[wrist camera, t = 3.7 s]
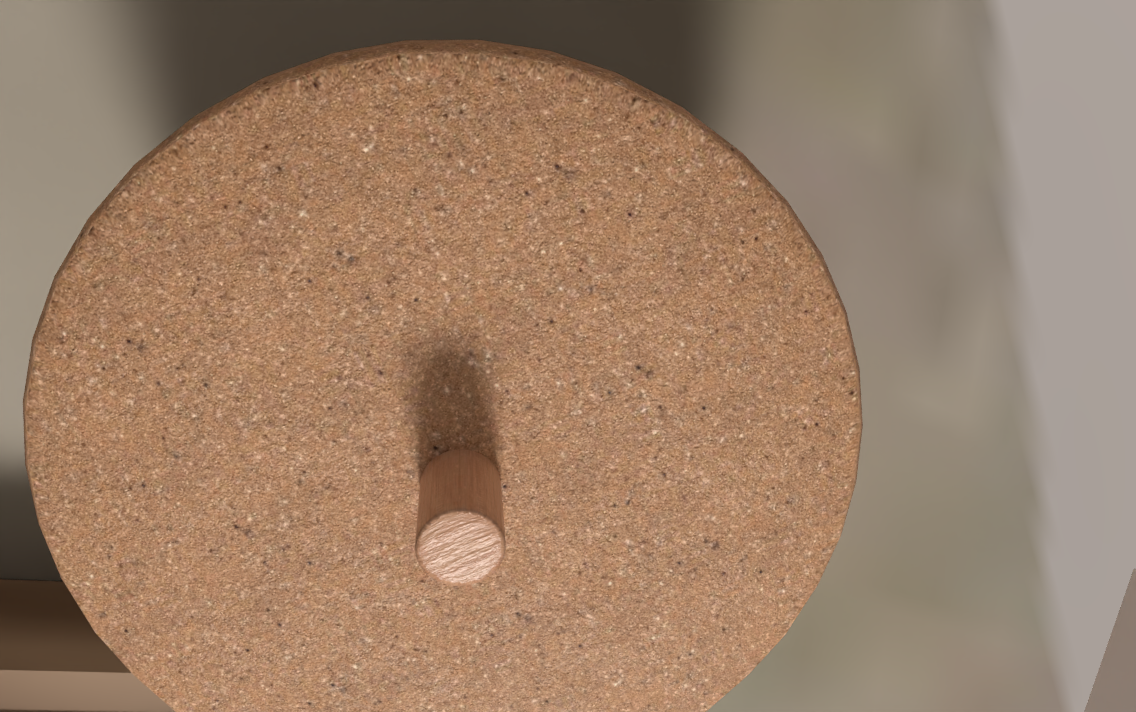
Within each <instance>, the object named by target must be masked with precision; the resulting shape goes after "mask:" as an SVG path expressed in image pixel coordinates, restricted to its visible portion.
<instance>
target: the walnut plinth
mask: <svg viewBox="0 0 1136 712" xmlns="http://www.w3.org/2000/svg"><path fill="white" fill-rule="evenodd" d="M0 712H175V711H174V710H173V709H172V708H171V707H170V706H168V705H167V704H166V703H165V702H164V701H163V700H161V699H160V698H159V697H158V696H157V695H156V694H155V693H153V692H152V691H151V690H150V689H149V688H148V687H147V686H145V685H144V684H143V683H142V682H141V681H140V680H139V679H137V678H136V677H135V676H134V675H133V674H132V673H131V672H130V671H129V669H128V668H127V667H126V666H125V665H124V664H123V663H122V662H121V661H120V659H119V658H118V657H117V656H116V655H115V654H114V653H113V652H112V651H111V649H110V648H109V647H108V646H107V645H106V644H105V643H104V642H103V641H102V639H101V638H100V637H99V636H98V635H97V634H96V633H95V632H94V630H93V628H92V627H91V625H90V623H89V622H88V620H87V619H86V617H85V615H84V614H83V612H82V611H81V609H80V607H79V606H78V604H77V603H76V601H75V599H74V598H73V596H72V595H71V593H70V591H69V590H68V588H67V587H66V585H65V583H64V582H63V581H34V580H5V579H0Z"/></svg>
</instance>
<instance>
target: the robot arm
mask: <svg viewBox="0 0 1136 712" xmlns="http://www.w3.org/2000/svg"><path fill="white" fill-rule="evenodd" d="M1084 712H1136V569H1134V570H1133V573H1132V576H1131V579H1130V582H1129V584H1128V588H1127V590H1126V593H1125V596H1124V599H1123V602H1122V605H1121V607H1120V610H1119V613H1118V616H1117V620H1116V622H1115V625H1114V628H1113V631H1112V634H1111V637H1110V639H1109V642H1108V645H1107V648H1106V651H1105V654H1104V657H1103V659H1102V662H1101V665H1100V668H1099V671H1098V674H1097V677H1096V679H1095V683H1094V685H1093V688H1092V691H1091V694H1090V697H1089V700H1088V703H1087V705H1086V708H1085V711H1084Z"/></svg>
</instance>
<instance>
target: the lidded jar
mask: <svg viewBox="0 0 1136 712" xmlns="http://www.w3.org/2000/svg"><path fill="white" fill-rule="evenodd" d="M23 415H24V444H25V465H26V469H27V474H28V478H29V483H30V488H31V492H32V497H33V501H34V506H35V510H36V515H37V520H38V523H39V526H40V528H41V531H42V533H43V535H44V538H45V540H46V543H47V545H48V548H49V550H50V552H51V555H52V557H53V560H54V562H55V564H56V567H57V569H58V572H59V574H60V577H61V579H62V580H63V582H64V583H65V585H66V587H67V588H68V590H69V591H70V593H71V595H72V596H73V598H74V599H75V601H76V603H77V604H78V606H79V607H80V609H81V611H82V612H83V614H84V615H85V617H86V619H87V620H88V622H89V623H90V625H91V627H92V628H93V630H94V632H95V633H96V634H97V635H98V636H99V637H100V638H101V639H102V641H103V642H104V643H105V644H106V645H107V646H108V647H109V648H110V649H111V651H112V652H113V653H114V654H115V655H116V656H117V657H118V658H119V659H120V661H121V662H122V663H123V664H124V665H125V666H126V667H127V668H128V669H129V671H130V672H131V673H132V674H133V675H134V676H135V677H136V678H137V679H139V680H140V681H141V682H142V683H143V684H144V685H145V686H147V687H148V688H149V689H150V690H151V691H152V692H153V693H155V694H156V695H157V696H158V697H159V698H160V699H161V700H163V701H164V702H165V703H166V704H167V705H168V706H170V707H171V708H172V709H173V710H174V711H175V712H706V711H707V710H708V709H709V708H711V707H712V706H713V705H714V704H715V703H716V702H718V701H719V700H720V699H721V698H722V697H723V696H724V695H726V694H727V693H728V692H729V691H730V690H731V689H732V688H734V687H735V686H736V685H737V684H738V683H739V682H741V681H742V680H743V679H744V678H745V677H746V676H747V675H748V674H749V673H750V672H751V671H752V670H753V669H754V668H755V667H756V666H757V665H758V664H759V663H760V661H761V660H762V659H763V658H764V657H765V656H766V655H767V654H768V653H769V652H770V651H771V650H772V648H773V647H774V646H775V645H776V644H777V643H778V642H779V641H780V640H781V639H782V638H783V637H784V635H785V634H786V633H787V631H788V630H789V628H790V626H791V625H792V623H793V622H794V620H795V619H796V617H797V616H798V614H799V613H800V611H801V609H802V608H803V606H804V605H805V603H806V602H807V600H808V599H809V597H810V596H811V594H812V593H813V591H814V590H815V588H816V587H817V585H818V583H819V581H820V579H821V577H822V575H823V573H824V570H825V568H826V566H827V564H828V562H829V560H830V558H831V555H832V553H833V551H834V549H835V547H836V545H837V543H838V540H839V538H840V536H841V533H842V530H843V526H844V523H845V519H846V516H847V512H848V509H849V505H850V502H851V498H852V495H853V491H854V488H855V484H856V478H857V470H858V461H859V452H860V444H861V435H862V426H863V425H862V407H861V389H860V371H859V365H858V360H857V356H856V352H855V347H854V343H853V339H852V334H851V330H850V326H849V321H848V317H847V313H846V310H845V307H844V305H843V303H842V300H841V298H840V296H839V293H838V291H837V288H836V286H835V284H834V281H833V279H832V277H831V274H830V272H829V270H828V267H827V265H826V263H825V260H824V258H823V256H822V254H821V252H820V251H819V249H818V248H817V246H816V245H815V243H814V241H813V240H812V238H811V237H810V235H809V234H808V232H807V231H806V229H805V228H804V226H803V225H802V223H801V221H800V220H799V218H798V217H797V215H796V214H795V212H794V211H793V209H792V208H791V206H790V205H789V203H788V202H787V200H786V199H785V198H784V197H783V196H782V195H781V194H780V193H779V192H778V191H777V190H776V189H775V188H774V186H773V185H772V184H771V183H770V182H769V181H768V180H767V179H766V178H765V177H764V176H763V175H762V174H761V173H760V171H759V170H758V169H757V168H756V167H755V166H754V165H753V164H752V163H751V162H750V161H749V160H748V159H747V158H746V156H745V155H744V154H743V153H742V152H740V151H739V150H738V149H737V148H735V147H734V146H733V145H731V144H730V143H729V142H727V141H726V140H725V139H723V138H722V137H721V136H719V135H718V134H717V133H716V132H714V131H713V130H712V129H710V128H709V127H708V126H706V125H705V124H704V123H702V122H701V121H700V120H698V119H697V118H696V117H694V116H693V115H692V114H691V113H689V112H688V111H687V110H685V109H684V108H683V107H681V106H679V105H677V104H675V103H674V102H672V101H670V100H668V99H666V98H664V97H662V96H660V95H658V94H656V93H654V92H653V91H651V90H649V89H647V88H645V87H643V86H641V85H639V84H637V83H635V82H633V81H631V80H630V79H628V78H626V77H624V76H622V75H620V74H618V73H616V72H613V71H610V70H607V69H604V68H601V67H598V66H595V65H592V64H589V63H586V62H583V61H579V60H576V59H573V58H570V57H567V56H564V55H561V54H558V53H555V52H552V51H548V50H542V49H536V48H529V47H523V46H516V45H510V44H503V43H497V42H490V41H484V40H405V41H399V42H393V43H387V44H382V45H376V46H370V47H365V48H359V49H353V50H347V51H342V52H336V53H332V54H329V55H326V56H324V57H321V58H318V59H315V60H312V61H309V62H306V63H304V64H301V65H298V66H295V67H292V68H289V69H287V70H284V71H281V72H278V73H275V74H272V75H269V76H267V77H264V78H262V79H260V80H258V81H257V82H255V83H253V84H251V85H249V86H248V87H246V88H244V89H242V90H240V91H239V92H237V93H235V94H233V95H232V96H230V97H228V98H226V99H224V100H223V101H221V102H219V103H217V104H215V105H214V106H212V107H210V108H208V109H206V110H205V111H203V112H201V113H199V114H197V115H196V116H194V117H193V118H192V119H190V120H189V121H188V122H187V123H185V124H184V125H183V126H182V127H180V128H179V129H178V130H177V131H175V132H174V133H173V134H172V135H171V136H169V137H168V138H167V139H166V140H164V141H163V142H162V143H161V144H159V145H158V146H157V147H156V148H154V149H153V150H152V151H151V152H150V153H148V154H147V155H146V156H145V157H143V158H142V159H141V160H140V161H138V162H137V163H136V164H135V165H134V166H133V167H132V168H131V169H130V170H129V172H128V173H127V174H126V175H125V176H124V177H123V179H122V180H121V181H120V182H119V183H118V184H117V186H116V187H115V188H114V189H113V190H112V191H111V193H110V194H109V195H108V196H107V197H106V198H105V200H104V201H103V202H102V203H101V204H100V205H99V207H98V208H97V209H96V210H95V211H94V212H93V214H92V215H91V216H90V217H89V218H88V220H87V222H86V223H85V225H84V227H83V229H82V230H81V232H80V234H79V235H78V237H77V239H76V241H75V242H74V244H73V246H72V248H71V249H70V251H69V253H68V254H67V256H66V258H65V260H64V261H63V263H62V265H61V266H60V268H59V270H58V272H57V273H56V275H55V277H54V280H53V282H52V285H51V288H50V291H49V294H48V297H47V299H46V302H45V305H44V308H43V311H42V314H41V316H40V319H39V322H38V325H37V328H36V331H35V333H34V336H33V340H32V346H31V353H30V359H29V366H28V372H27V379H26V385H25V392H24V398H23Z"/></svg>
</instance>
